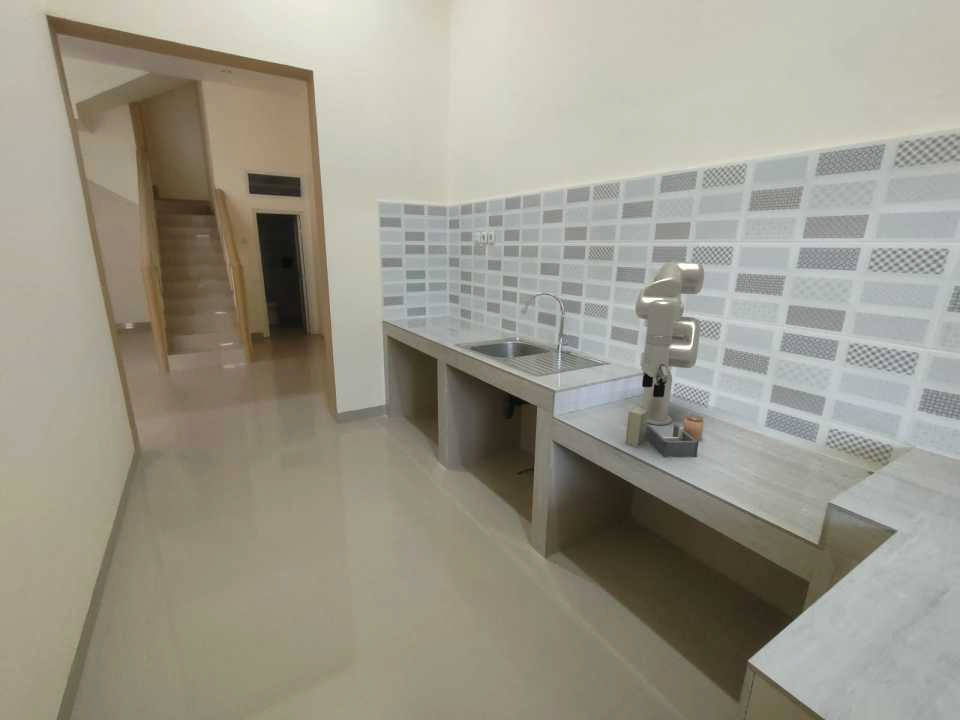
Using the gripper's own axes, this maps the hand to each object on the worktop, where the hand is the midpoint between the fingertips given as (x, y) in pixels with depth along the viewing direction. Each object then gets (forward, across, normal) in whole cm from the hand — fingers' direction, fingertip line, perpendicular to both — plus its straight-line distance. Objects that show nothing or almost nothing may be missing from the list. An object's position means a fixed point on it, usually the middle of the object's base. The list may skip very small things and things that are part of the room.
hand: (652, 391), depth 135 cm
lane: (+20, -1, +8) cm, 21 cm away
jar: (+20, -9, +19) cm, 29 cm away
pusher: (+20, -1, +8) cm, 21 cm away
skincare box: (+20, -3, -2) cm, 20 cm away
